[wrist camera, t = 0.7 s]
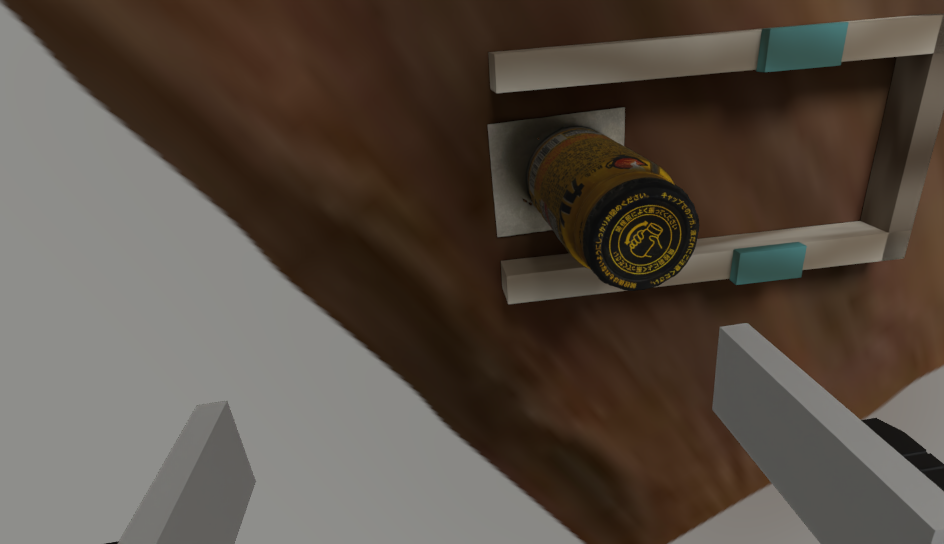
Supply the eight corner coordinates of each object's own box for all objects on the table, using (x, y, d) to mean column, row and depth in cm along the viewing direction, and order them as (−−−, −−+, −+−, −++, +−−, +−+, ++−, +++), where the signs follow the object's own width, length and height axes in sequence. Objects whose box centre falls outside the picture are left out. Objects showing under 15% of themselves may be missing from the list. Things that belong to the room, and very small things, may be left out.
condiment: (622, 219, 36) (713, 299, 26) (496, 236, 36) (535, 325, 25) (623, 106, 33) (727, 142, 23) (486, 123, 33) (524, 169, 22)
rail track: (488, 50, 31) (496, 52, 28) (931, 12, 33) (983, 10, 30) (502, 289, 38) (510, 311, 35) (874, 246, 39) (913, 264, 36)
